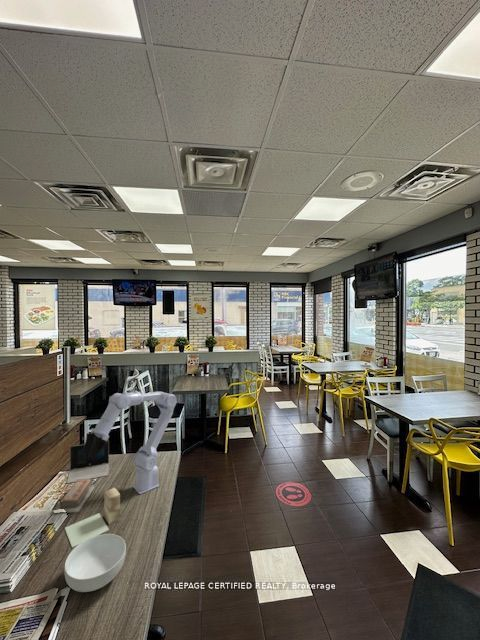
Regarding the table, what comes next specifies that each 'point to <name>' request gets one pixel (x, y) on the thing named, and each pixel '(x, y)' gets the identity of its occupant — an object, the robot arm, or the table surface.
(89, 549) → the cereal bowl
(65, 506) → the packaged product
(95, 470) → the laptop
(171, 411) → the robot arm
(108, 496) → the birch block
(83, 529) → the mat
